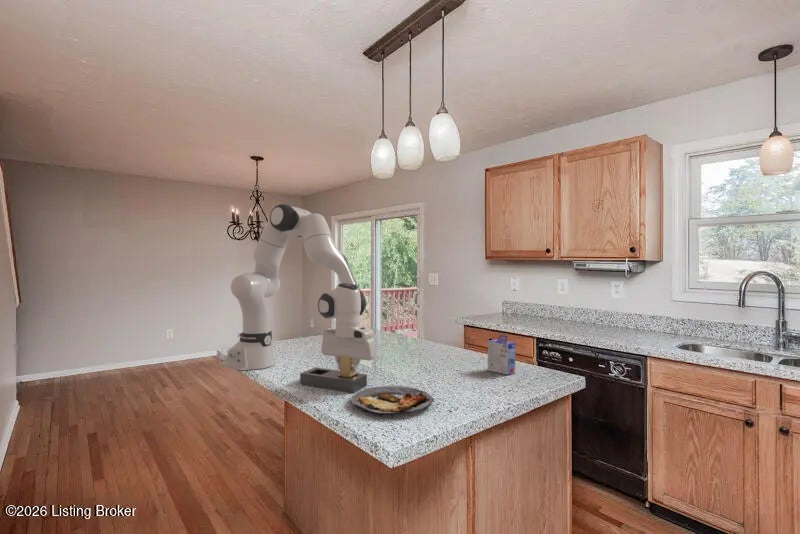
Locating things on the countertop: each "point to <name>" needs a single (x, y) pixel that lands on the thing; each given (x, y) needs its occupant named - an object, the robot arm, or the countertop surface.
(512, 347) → the ink cartridge box
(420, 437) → the countertop surface
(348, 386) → the grey peg hole block
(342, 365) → the square peg
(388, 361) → the countertop surface
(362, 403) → the food plate
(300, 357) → the countertop surface
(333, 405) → the countertop surface
